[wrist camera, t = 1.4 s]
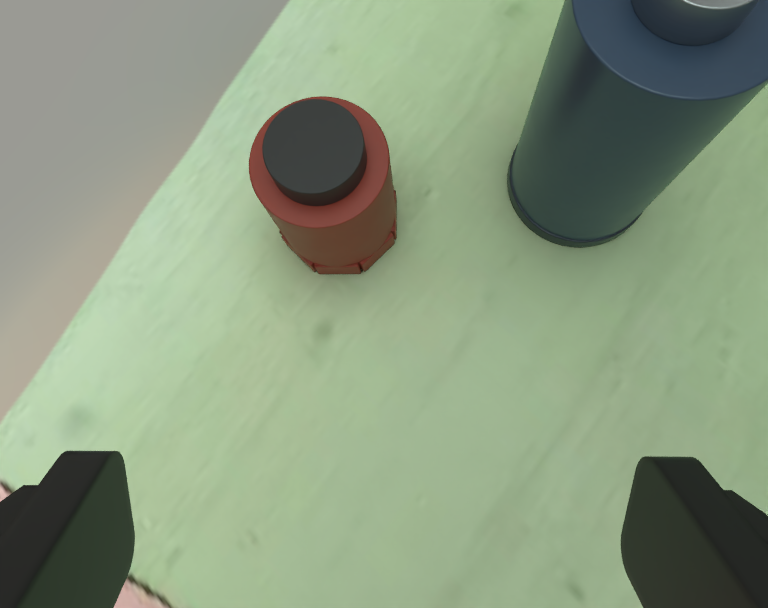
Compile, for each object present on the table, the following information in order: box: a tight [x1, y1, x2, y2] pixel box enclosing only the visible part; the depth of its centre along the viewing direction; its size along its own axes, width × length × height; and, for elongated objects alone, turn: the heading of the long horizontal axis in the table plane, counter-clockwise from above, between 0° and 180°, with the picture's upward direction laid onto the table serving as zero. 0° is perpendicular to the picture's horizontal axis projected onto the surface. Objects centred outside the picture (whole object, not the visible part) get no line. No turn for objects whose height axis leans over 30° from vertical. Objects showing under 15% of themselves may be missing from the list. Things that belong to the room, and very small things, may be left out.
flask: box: [507, 0, 768, 247], centre depth 27 cm, size 8×8×17 cm
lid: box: [249, 97, 397, 274], centre depth 31 cm, size 6×6×10 cm
